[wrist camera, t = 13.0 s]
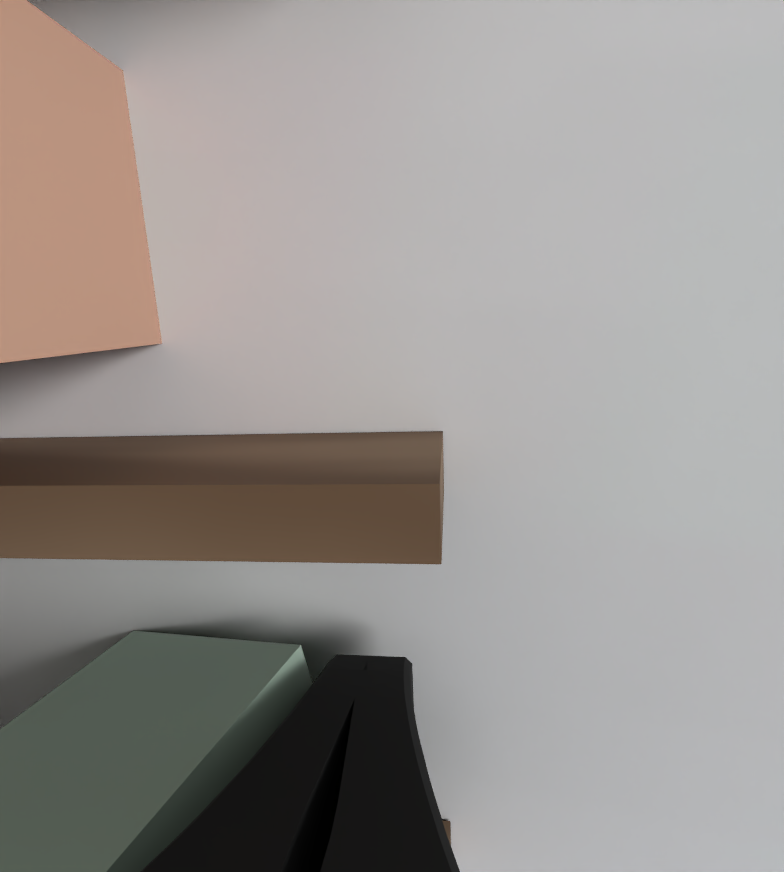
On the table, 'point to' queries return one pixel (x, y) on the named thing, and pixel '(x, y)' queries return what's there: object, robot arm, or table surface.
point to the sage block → (137, 748)
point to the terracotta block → (67, 198)
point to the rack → (225, 498)
